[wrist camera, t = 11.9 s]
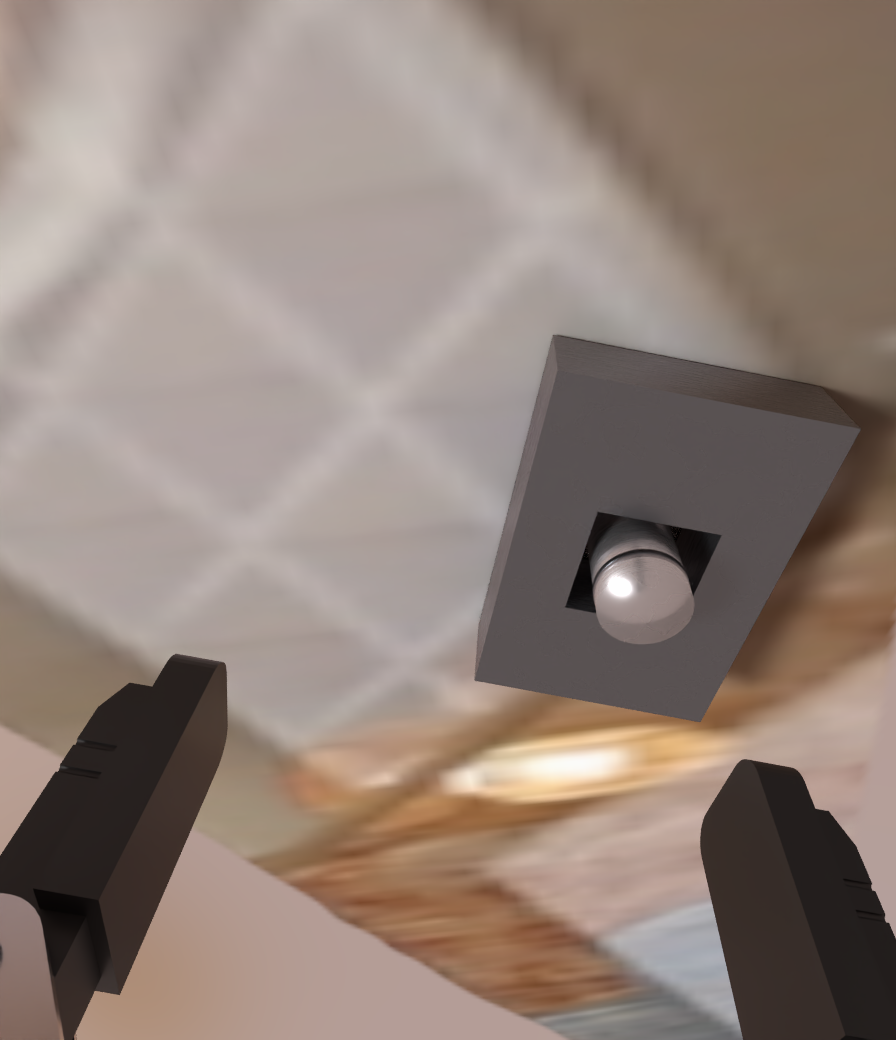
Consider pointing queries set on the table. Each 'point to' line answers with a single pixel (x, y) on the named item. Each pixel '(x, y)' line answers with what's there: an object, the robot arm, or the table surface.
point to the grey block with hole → (652, 518)
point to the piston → (638, 579)
